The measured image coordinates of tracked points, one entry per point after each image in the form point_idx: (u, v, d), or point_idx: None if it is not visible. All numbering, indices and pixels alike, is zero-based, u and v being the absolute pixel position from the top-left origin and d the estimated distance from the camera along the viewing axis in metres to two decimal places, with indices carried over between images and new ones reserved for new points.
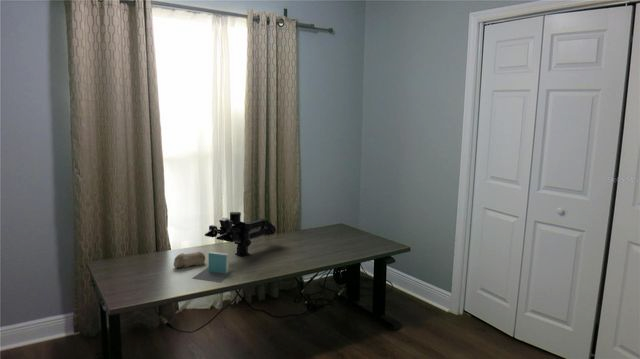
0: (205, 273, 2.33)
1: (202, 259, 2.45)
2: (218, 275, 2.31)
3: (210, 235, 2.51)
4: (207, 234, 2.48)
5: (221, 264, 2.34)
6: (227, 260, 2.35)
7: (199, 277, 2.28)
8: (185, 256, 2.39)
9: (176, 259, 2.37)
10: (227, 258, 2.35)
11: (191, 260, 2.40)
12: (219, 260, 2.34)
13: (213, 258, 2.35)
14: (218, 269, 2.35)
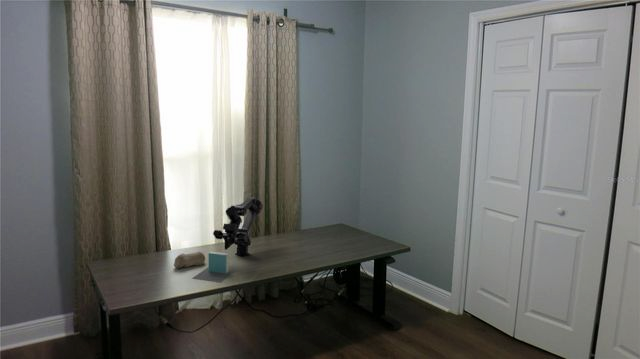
0: (205, 273, 2.33)
1: (202, 259, 2.45)
2: (218, 275, 2.31)
3: None
4: None
5: (221, 264, 2.34)
6: (227, 260, 2.35)
7: (199, 277, 2.28)
8: (185, 256, 2.39)
9: (177, 259, 2.37)
10: (227, 258, 2.35)
11: (191, 260, 2.40)
12: (219, 260, 2.34)
13: (213, 258, 2.35)
14: (218, 269, 2.35)
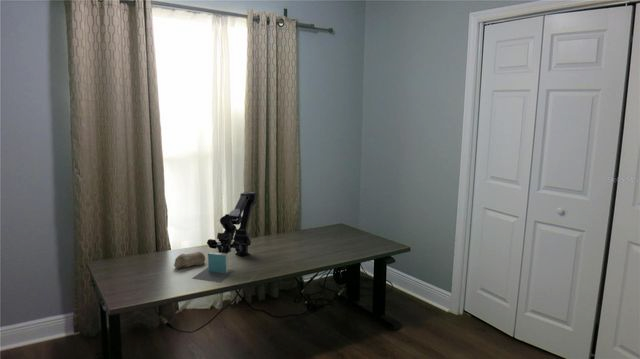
0: (205, 273, 2.33)
1: (202, 259, 2.45)
2: (218, 275, 2.31)
3: None
4: None
5: (221, 264, 2.34)
6: (227, 260, 2.35)
7: (199, 277, 2.28)
8: (186, 256, 2.39)
9: (177, 260, 2.37)
10: (227, 258, 2.34)
11: (191, 260, 2.40)
12: (219, 260, 2.34)
13: (213, 258, 2.34)
14: (218, 269, 2.35)
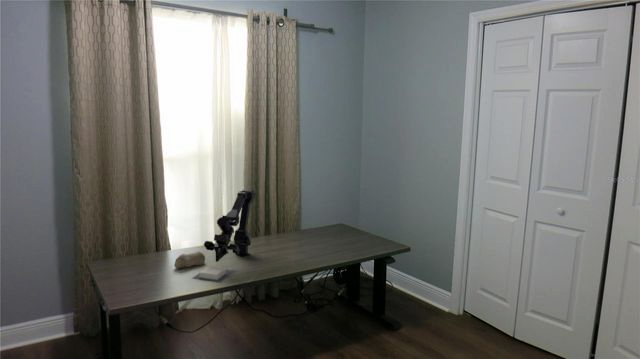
0: None
1: (203, 259, 2.45)
2: None
3: None
4: None
5: None
6: (220, 274, 2.28)
7: None
8: (186, 256, 2.39)
9: (178, 260, 2.36)
10: (219, 275, 2.27)
11: (192, 260, 2.40)
12: None
13: None
14: None
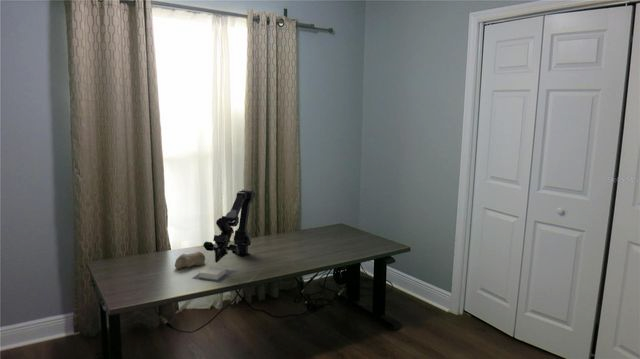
0: None
1: (203, 259, 2.45)
2: None
3: None
4: None
5: None
6: (220, 274, 2.28)
7: None
8: (187, 256, 2.39)
9: (178, 260, 2.36)
10: (219, 275, 2.27)
11: (192, 260, 2.40)
12: None
13: None
14: None
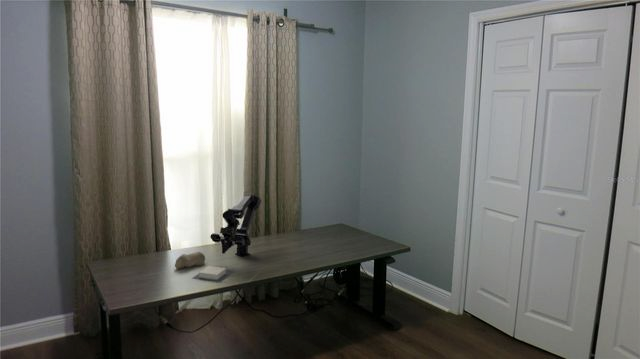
0: None
1: (203, 259, 2.45)
2: None
3: None
4: None
5: None
6: (220, 274, 2.28)
7: None
8: (187, 257, 2.38)
9: (178, 260, 2.36)
10: (219, 275, 2.27)
11: (192, 260, 2.40)
12: None
13: None
14: None
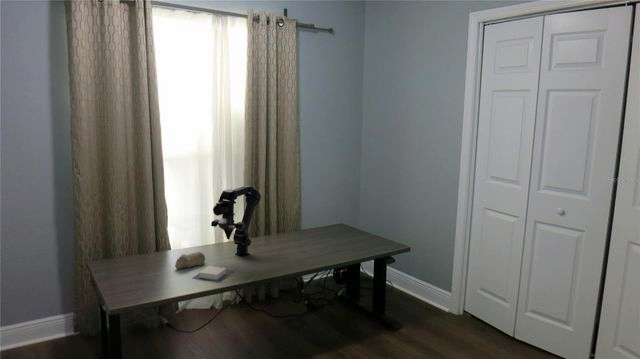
0: None
1: (203, 259, 2.46)
2: None
3: None
4: None
5: None
6: (220, 274, 2.28)
7: None
8: (187, 257, 2.38)
9: (179, 260, 2.36)
10: (219, 275, 2.27)
11: (193, 260, 2.40)
12: None
13: None
14: None
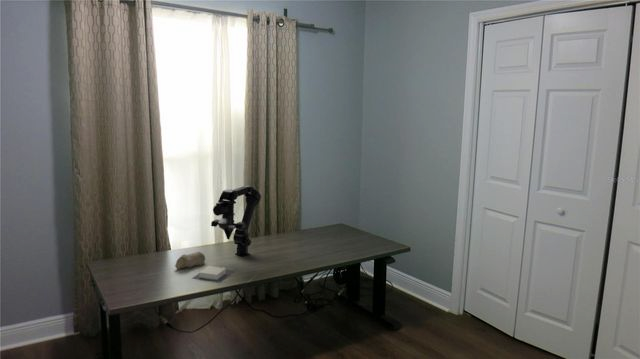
0: None
1: (203, 259, 2.46)
2: None
3: None
4: None
5: None
6: (220, 274, 2.28)
7: None
8: (188, 257, 2.38)
9: (179, 260, 2.36)
10: (219, 275, 2.27)
11: (193, 260, 2.40)
12: None
13: None
14: None
